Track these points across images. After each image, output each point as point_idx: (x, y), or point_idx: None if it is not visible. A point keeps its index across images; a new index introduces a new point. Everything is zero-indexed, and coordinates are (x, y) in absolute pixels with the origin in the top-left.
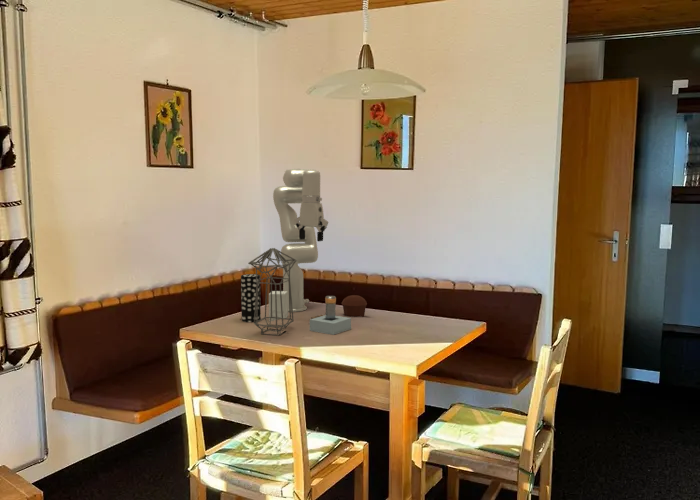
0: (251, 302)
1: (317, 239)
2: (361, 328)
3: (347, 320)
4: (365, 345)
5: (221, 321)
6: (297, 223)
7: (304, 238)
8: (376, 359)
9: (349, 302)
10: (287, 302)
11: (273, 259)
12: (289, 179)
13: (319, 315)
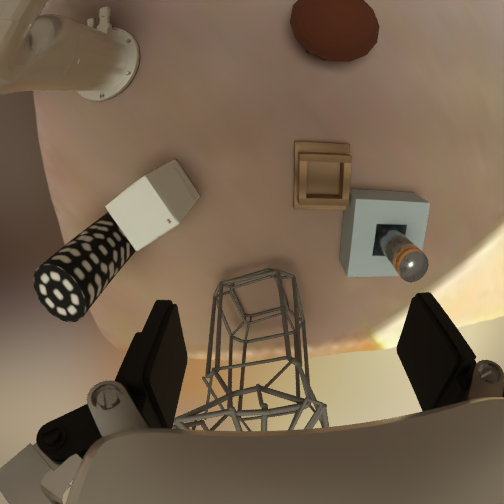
0: (118, 271)
1: (404, 362)
2: (414, 140)
3: (426, 218)
4: (467, 264)
5: None
6: (72, 476)
7: (176, 311)
8: (491, 314)
9: (345, 53)
10: (165, 176)
11: (207, 417)
12: None
13: (303, 167)
